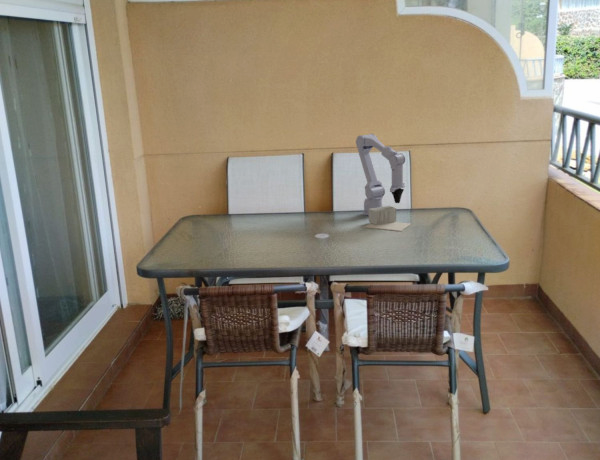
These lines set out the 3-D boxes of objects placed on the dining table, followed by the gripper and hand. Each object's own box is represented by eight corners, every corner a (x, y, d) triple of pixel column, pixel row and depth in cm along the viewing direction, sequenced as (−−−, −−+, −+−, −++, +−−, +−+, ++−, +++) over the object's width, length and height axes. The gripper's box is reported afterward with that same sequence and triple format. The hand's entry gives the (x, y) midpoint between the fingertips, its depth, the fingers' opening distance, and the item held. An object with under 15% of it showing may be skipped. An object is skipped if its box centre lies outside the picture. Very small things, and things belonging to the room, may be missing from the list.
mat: (364, 227, 307) (364, 226, 307) (376, 220, 318) (375, 220, 318) (401, 231, 297) (401, 230, 297) (411, 224, 308) (411, 223, 308)
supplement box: (389, 218, 320) (368, 222, 315) (389, 205, 318) (368, 208, 313) (396, 221, 313) (375, 225, 308) (396, 208, 311) (375, 211, 306)
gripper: (398, 180, 304) (399, 206, 307) (409, 175, 315) (409, 200, 319) (385, 179, 307) (386, 205, 311) (397, 174, 319) (397, 199, 323)
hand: (397, 202), depth 315 cm, fingers closed
